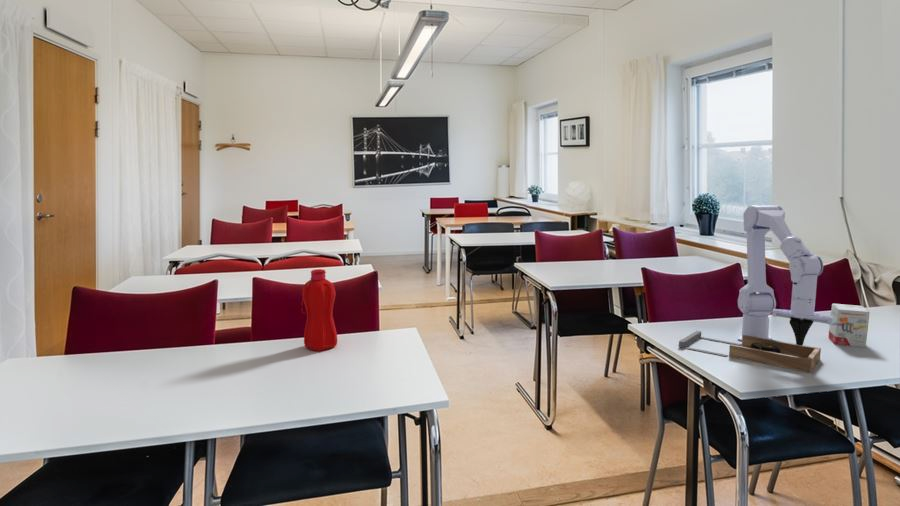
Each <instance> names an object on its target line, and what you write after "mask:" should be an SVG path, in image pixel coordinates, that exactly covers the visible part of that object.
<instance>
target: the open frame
mask: <svg viewBox="0 0 900 506" xmlns="http://www.w3.org/2000/svg"><path fill="white" fill-rule="evenodd" d="M741 336H742V335H741ZM753 342H764V343H767V344H771V345H773V346H776V347H778V348H779V349H780V353H775V352H770V351H764V350H759V349H753V348H750V346H751V344H752V343H753ZM741 344H742V345H741V346H739V345H733V344H729V350H728V351H729V352H728V354H729V355H728V357H730V358H735V359H740V360H743V361H748V362H755V363H758V364H759V363H760V364H764V365H768V366H769V365H770V366H775V367H781V368H785V369H790V370H795V371H800V372H806V373H809V374H810V373H811V372H812V371H813V370H814V368H815V367H816V366H817V364H818V363H819V361H820V360H821V352H822V351H821V350H822V349H821V347H817V346H811V345H805V344H803V345H802V346H801V345H796V343H792V342H786V341H780V340H775V339H764V338H758V337H753V336H747V335H743V336H742V341H741Z"/></svg>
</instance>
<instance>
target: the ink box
mask: <svg viewBox="0 0 900 506" xmlns="http://www.w3.org/2000/svg"><path fill="white" fill-rule="evenodd" d="M830 316H832V317H833V323H832V325H830V324H829V327H828V339H829V340H830V341H831V342H832V343H833V344H834V345H837V346H846V345H848V346H849V347H857V346H860V347H859V348H866V347H867V339H868V331H869V322H870V321H869V320H870V311H869V310H868V309H867V308H866V307H864V306H863V305H854V304H844V303H843V304H841V303H832V304H831V311H830Z"/></svg>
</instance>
